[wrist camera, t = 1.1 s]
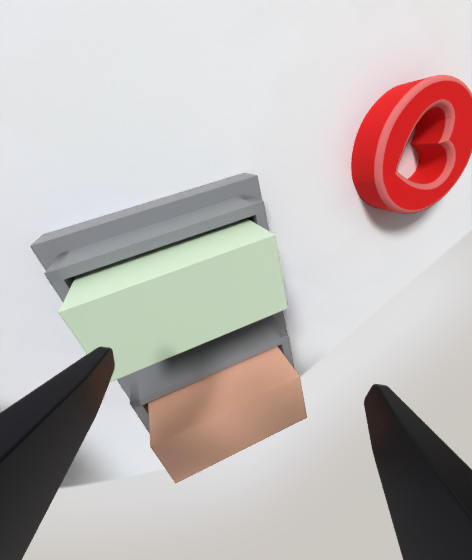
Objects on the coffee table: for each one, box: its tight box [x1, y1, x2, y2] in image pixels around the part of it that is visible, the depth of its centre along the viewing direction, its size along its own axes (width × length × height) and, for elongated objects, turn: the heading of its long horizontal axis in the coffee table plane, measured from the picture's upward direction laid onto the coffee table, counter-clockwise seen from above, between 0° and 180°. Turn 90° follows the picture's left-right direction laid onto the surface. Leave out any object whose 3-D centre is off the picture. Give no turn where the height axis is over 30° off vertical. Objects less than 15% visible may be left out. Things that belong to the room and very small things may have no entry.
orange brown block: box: [148, 346, 307, 483], centre depth 20 cm, size 10×4×4 cm, turn 105°
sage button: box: [59, 218, 288, 382], centre depth 15 cm, size 10×4×4 cm, turn 105°
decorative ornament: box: [351, 75, 472, 214], centre depth 22 cm, size 10×10×3 cm
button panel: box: [30, 173, 294, 433], centre depth 21 cm, size 14×18×6 cm
